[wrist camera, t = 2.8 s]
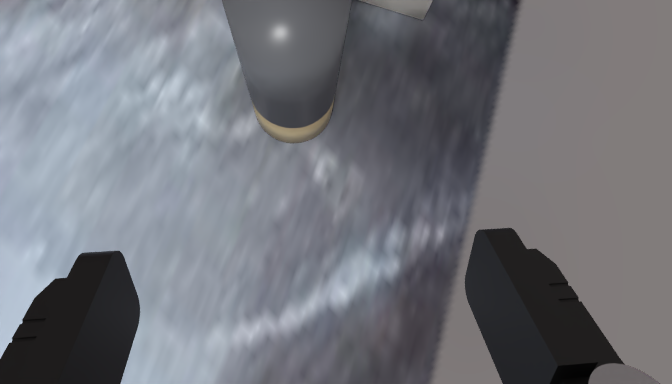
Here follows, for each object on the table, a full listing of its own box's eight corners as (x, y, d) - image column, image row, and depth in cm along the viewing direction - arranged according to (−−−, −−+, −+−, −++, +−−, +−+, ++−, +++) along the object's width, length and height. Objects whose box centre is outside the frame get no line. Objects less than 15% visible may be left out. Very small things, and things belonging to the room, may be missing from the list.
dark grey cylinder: (239, 117, 24) (194, 7, 14) (281, 56, 25) (267, -90, 15) (306, 157, 24) (308, 75, 14) (346, 94, 24) (375, -26, 15)
